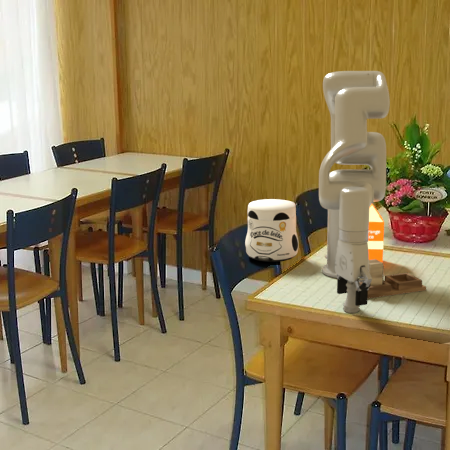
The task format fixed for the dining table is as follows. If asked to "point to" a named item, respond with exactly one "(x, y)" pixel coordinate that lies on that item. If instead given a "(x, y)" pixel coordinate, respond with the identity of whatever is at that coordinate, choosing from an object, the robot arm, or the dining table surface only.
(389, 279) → the wooden compartment tray
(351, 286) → the rook chess piece
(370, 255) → the orange juice
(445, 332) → the dining table surface
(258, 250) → the milk container
